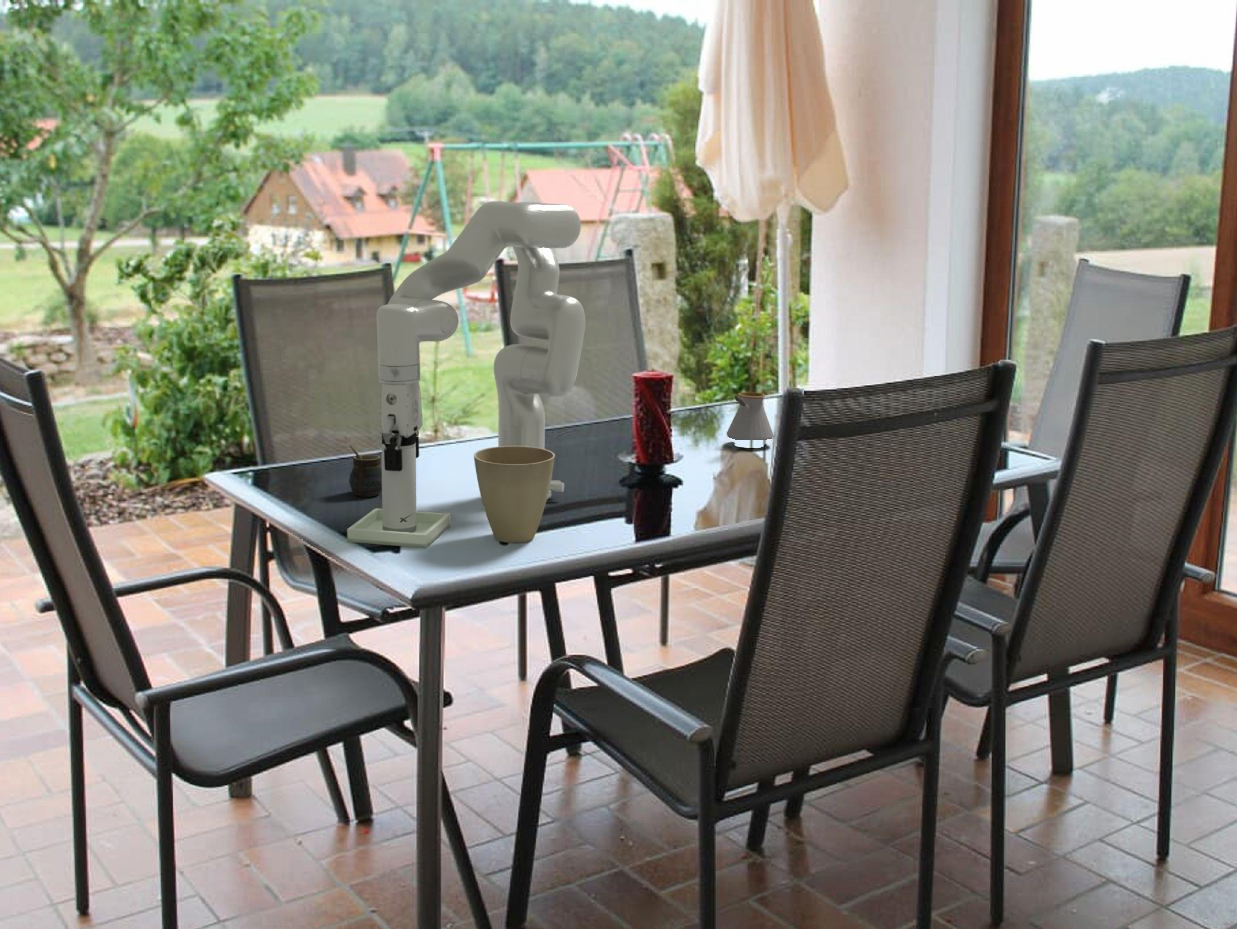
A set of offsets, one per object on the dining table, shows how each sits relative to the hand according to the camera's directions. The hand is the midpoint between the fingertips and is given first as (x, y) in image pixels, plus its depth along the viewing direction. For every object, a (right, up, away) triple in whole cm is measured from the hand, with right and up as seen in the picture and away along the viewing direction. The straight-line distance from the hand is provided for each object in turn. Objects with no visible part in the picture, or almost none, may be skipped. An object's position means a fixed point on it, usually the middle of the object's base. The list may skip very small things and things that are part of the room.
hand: (402, 463), depth 258 cm
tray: (-1, -13, +2) cm, 13 cm away
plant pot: (+20, -14, +2) cm, 25 cm away
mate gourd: (-12, -7, +30) cm, 33 cm away
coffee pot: (+71, +3, +81) cm, 108 cm away
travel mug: (-1, -13, +3) cm, 13 cm away
